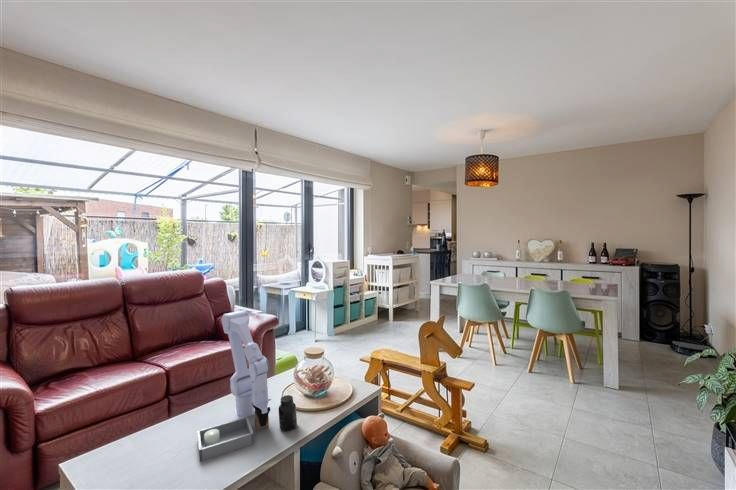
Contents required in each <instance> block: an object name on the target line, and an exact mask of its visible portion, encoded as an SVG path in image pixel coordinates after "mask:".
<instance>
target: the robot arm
mask: <svg viewBox="0 0 736 490" xmlns="http://www.w3.org/2000/svg"><path fill="white" fill-rule="evenodd" d="M249 323H250V315H249V312H248V311H247V310H246V309H242V310H238V311H237V310H236V311H233V312H228V313H223V315H222V319H221V324H222V329H223V332H224V334H227V335H228V336H227V337H228V340H229V345H230V350H231V355H232V360H233V366H234V370H235V371H234V373H233V375H231V377H230V379H229V381H230V387H229V388H230V392H231V394H232V396H234V397H235V408H234V409H233V412H234V414H235V417H236V420H237V419H240V418H244V417H250V416H255V414H254V411H255V412H256V414H257V416H258V419H259V423H260V426H261V427H262V426H265V425H266V423H267V417H268V418H269V414H270V412H271V407H270V406H268V405H269V402H270V401H272V397H271V396H269V391H268V389H269V388H268V372H269V371H270V362H269V360H268V358H267V357H266V356H265V355H263V354H262V351H261V349H260V346H259V345H258V343H256V342H254V339H253V337H252V334H251V330H250V328H249ZM247 362H248V364H247Z"/></svg>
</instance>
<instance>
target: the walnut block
mask: <svg viewBox="0 0 736 490" xmlns="http://www.w3.org/2000/svg"><path fill="white" fill-rule="evenodd" d="M269 420H270V418H269V416H268V417H267V423H266V425H265V426H262V427H261V426H260V423H259V419H258V416H257V414H256V412H255V411H254V425H255V428H256V430H258V431H259V430H261V429H265V428H267V429H268V428H270V421H269Z"/></svg>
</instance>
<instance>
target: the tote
mask: <svg viewBox="0 0 736 490" xmlns="http://www.w3.org/2000/svg"><path fill="white" fill-rule="evenodd" d="M212 429H218V430H219V437H220V443H217V444H214V445H211V446H207V447H205V441H204V434H205V433H206V432H207V431H209V430H212ZM254 433H255V432H254V431H253V427H252V425H251V422H250V420H249V416H247V417H243V418H240V419H237V418H236V419H234V420H231V421H227V422H223V423H219V424H216V425H213V426H210V427H206V428H203V429H199V430H197V431H196V434H197V435H196V436H197V444H198V445H197V446H198V447H197V448H198V455H199V456H198V457H199V462H202V461H206V460H209V459H211V458H215V457H218V456H220V455H224V454H226V453H229V452H234V451H237V450H239V449H242V448H245V447H248V446H251V445H254V444H255V436H254V435H255V434H254Z"/></svg>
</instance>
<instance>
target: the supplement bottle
mask: <svg viewBox="0 0 736 490" xmlns="http://www.w3.org/2000/svg"><path fill="white" fill-rule="evenodd" d="M297 420H298V417H297V404H296V403H295V402H294V397H293V396H292V395H290V394H288V395H284V396H281V397H280V404H279V406H278V421H279V422H278V423H279V424H278V425H279V430H281V431H282V432H291V431H293V430H295V429H296V428H297V426H298V422H297Z"/></svg>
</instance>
